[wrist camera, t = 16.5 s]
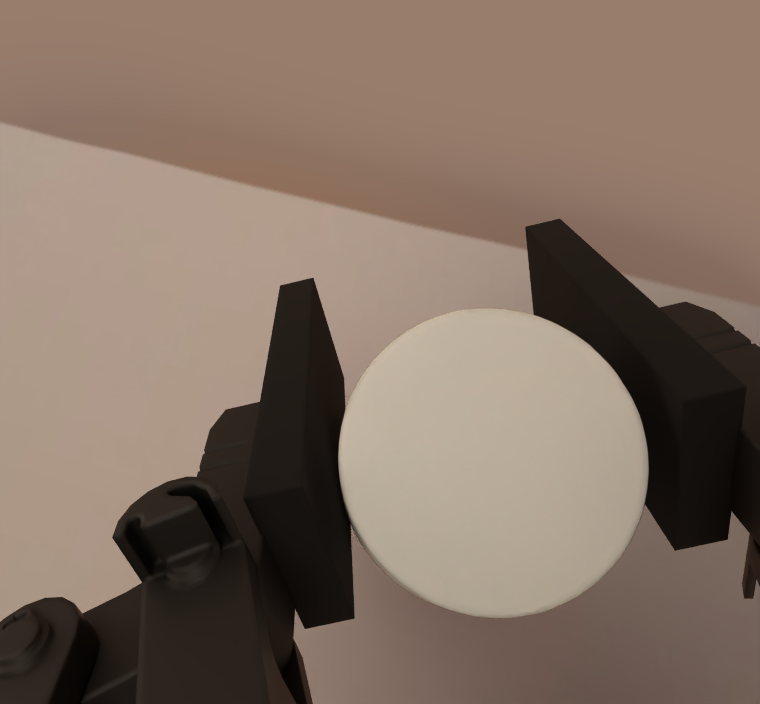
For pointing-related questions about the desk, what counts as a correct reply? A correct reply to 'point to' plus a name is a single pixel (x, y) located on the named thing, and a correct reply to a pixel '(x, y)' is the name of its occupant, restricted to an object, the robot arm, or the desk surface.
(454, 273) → the desk surface
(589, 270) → the robot arm
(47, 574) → the desk surface
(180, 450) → the desk surface
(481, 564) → the pill bottle
